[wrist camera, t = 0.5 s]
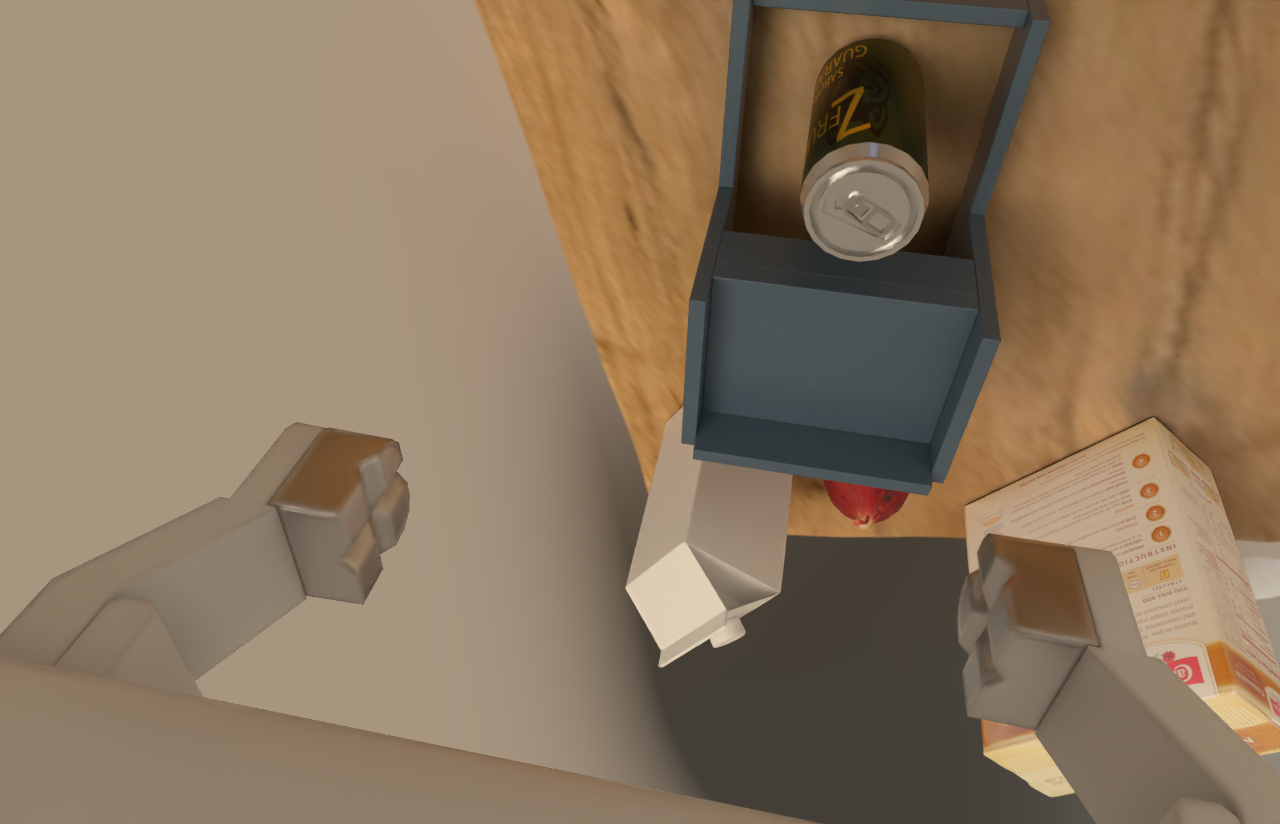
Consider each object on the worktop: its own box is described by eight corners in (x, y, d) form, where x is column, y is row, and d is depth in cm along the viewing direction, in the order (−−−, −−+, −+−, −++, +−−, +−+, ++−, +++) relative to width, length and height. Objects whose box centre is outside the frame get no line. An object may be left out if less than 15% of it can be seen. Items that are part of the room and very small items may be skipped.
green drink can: (946, 73, 43) (959, 202, 35) (873, 152, 47) (869, 285, 39) (862, 10, 42) (855, 129, 34) (794, 96, 46) (772, 223, 37)
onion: (882, 399, 59) (880, 488, 54) (926, 448, 62) (929, 538, 56) (811, 430, 63) (804, 516, 57) (856, 475, 65) (853, 562, 60)
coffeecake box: (1019, 549, 68) (1050, 801, 54) (959, 504, 65) (977, 755, 52) (1216, 469, 58) (1313, 752, 45) (1154, 412, 55) (1237, 693, 42)
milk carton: (666, 420, 65) (610, 643, 52) (719, 368, 60) (672, 599, 47) (742, 464, 67) (706, 690, 54) (799, 417, 62) (775, 652, 49)
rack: (741, -29, 42) (696, 105, 32) (1043, -5, 40) (1090, 144, 30) (714, 298, 56) (677, 457, 47) (934, 326, 54) (944, 498, 45)
